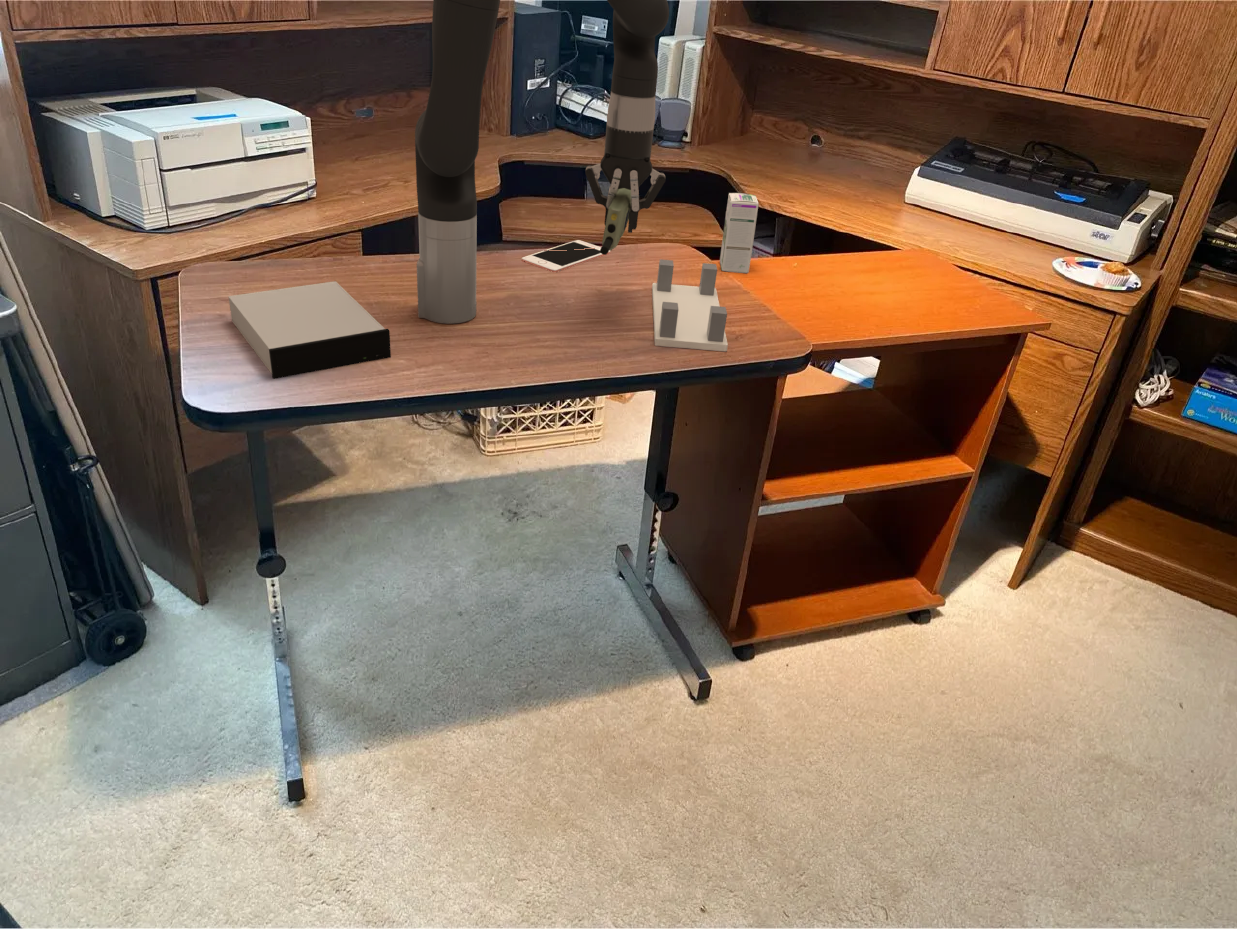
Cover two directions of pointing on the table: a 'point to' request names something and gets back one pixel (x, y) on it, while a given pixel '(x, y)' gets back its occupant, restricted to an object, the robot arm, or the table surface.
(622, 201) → the handheld radio
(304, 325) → the disc drive
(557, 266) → the cell phone
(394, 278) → the table surface
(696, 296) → the rack
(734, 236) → the syrup box
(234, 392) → the table surface
